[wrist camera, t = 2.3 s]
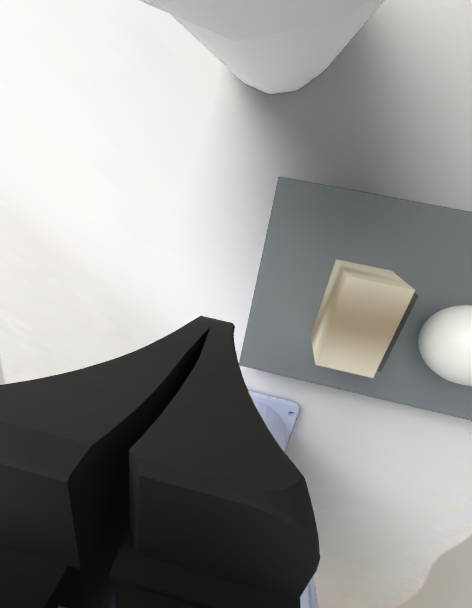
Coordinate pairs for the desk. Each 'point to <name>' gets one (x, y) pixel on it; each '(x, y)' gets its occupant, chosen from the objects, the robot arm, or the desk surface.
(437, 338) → the ball
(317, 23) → the foam cup
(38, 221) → the desk surface
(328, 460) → the desk surface
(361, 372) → the cream rectangular block
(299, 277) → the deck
